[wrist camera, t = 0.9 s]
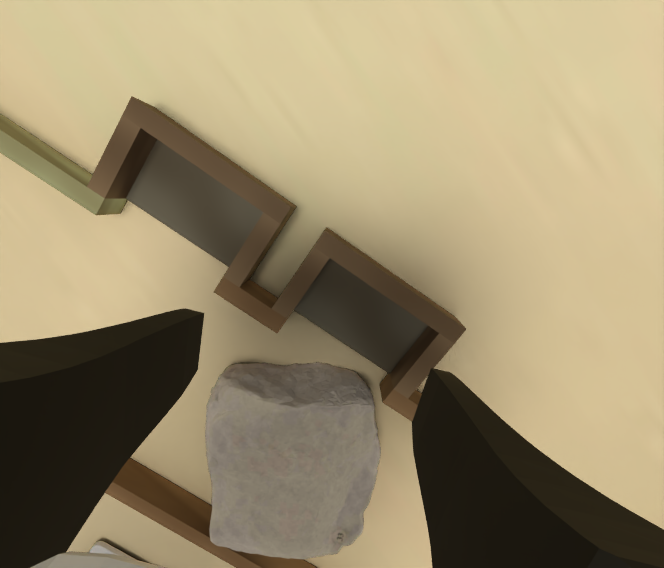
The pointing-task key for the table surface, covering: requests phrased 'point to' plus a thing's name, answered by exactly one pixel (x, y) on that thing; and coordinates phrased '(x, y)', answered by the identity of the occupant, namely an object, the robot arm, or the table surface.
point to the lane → (243, 277)
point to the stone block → (290, 458)
